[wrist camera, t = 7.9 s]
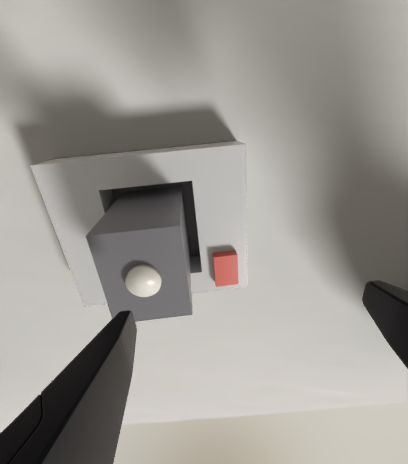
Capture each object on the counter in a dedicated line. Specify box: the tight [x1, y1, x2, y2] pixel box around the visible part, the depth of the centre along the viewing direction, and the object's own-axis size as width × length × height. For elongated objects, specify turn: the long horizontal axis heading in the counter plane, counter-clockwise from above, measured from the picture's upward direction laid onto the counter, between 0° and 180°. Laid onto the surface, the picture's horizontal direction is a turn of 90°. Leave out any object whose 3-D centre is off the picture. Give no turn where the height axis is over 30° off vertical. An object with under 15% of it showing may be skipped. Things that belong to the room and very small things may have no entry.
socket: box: [30, 141, 248, 306], centre depth 16 cm, size 12×10×3 cm
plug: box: [86, 186, 192, 321], centre depth 14 cm, size 4×5×7 cm
